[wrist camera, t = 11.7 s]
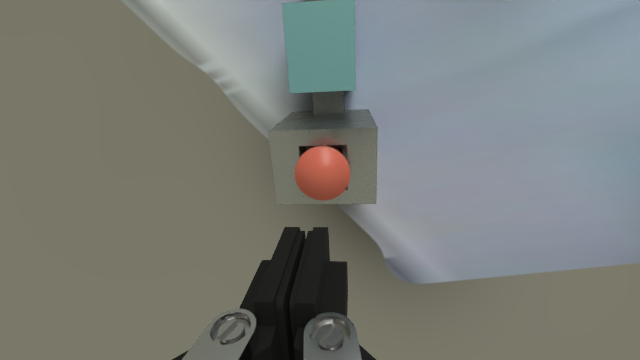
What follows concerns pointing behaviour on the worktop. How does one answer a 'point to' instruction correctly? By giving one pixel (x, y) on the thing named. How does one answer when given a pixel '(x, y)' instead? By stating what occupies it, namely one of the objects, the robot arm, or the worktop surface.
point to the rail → (327, 100)
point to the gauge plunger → (322, 172)
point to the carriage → (320, 45)
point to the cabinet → (325, 129)
